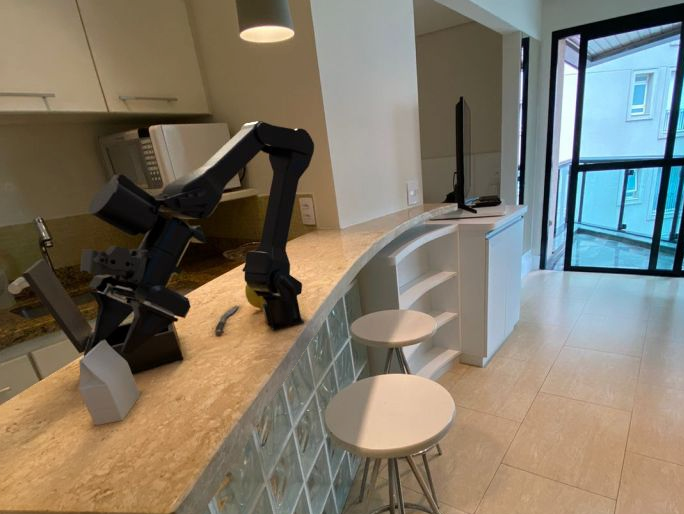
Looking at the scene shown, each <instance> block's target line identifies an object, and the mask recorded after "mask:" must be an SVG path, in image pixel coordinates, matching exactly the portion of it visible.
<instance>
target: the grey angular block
mask: <svg viewBox="0 0 684 514" xmlns="http://www.w3.org/2000/svg"><path fill="white" fill-rule="evenodd" d="M78 363H79V364H78V365H79V378H78V379H79V380H78V388H77V389H78V390H77V391H78V392H79V395H80V396H81V398H82V401H83V403H84V405H85V407H86V409H87V411H88V413H89V415H90V417H91V420H92V422H93V423H94V426H98V425H99V426H100V425H105V424H109V423H114V422H120V421H123V420H124V419H125V417H126V416H127V414H128V413H129V412H130V410H131V409H132V407H133V406H134V405H135V403H136V401H137V400H138V399H139V398H140V396H141V393H140V390H139V388H138V385H137V383H136V380H135V378H134V374H133V375H132V373H131V370H130V368H129V365H128V363H127V361H126V360H125V359H124V358H122V357H121V356H120V355H119V354H118V353H117V352H116V351H115V350H114V349H113V348H112V347H111V346H110V345H109V344H108V343H107V342H106V340H103V341H101V342H100V343H98V344H97V345H96V346H95V347H94V348H93V349H92V350H91V351H90V352H89V353H87V354H86V355H85V356H84V355H83V357H82V358H80V359H79V361H78Z"/></svg>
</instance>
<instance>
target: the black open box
mask: <svg viewBox="0 0 684 514" xmlns="http://www.w3.org/2000/svg"><path fill="white" fill-rule="evenodd" d="M131 323H132V321H131V322H126V323H123V324H122V323H121V324H120V325H119V326H118V327H117V328H116V329H115V330H114V331H113V332H112V333H111V334H110V335H109V336H108V337H107V338H106V339H105V340H106V342H107V343H108V344H109V345H110V346H111V347H112V348H113V349H114V350H115V351H116V352H117V353H118V354H119V355H120V356H121V357H122V358H124V359H125V360H126V361H127V363H128V365H129V368H130V370H131V373H132V375H133V376H134V375H137V374H140V373H143V372H147V371H150V370H153V369H157V368H160V367H164V366H167V365H171V364H173V363H177V362H181V361H184V355H183V350H182V345H181V340H180V337H179V334H178V331H177V328H176V325H175V322H173V323H172V324H170V325H169V326H167V327H166V328H165V329H163V330H162V331H160V332H159V333H158V334H156V335H155V336H154V337H152V338H151V339H150V340H148V341H147V342H146V343H145V344H143V345H142V346H141V347H139V348H138V349H137V350H136V351H134V352H133V353H132V354H130V355H127V354H124V353H122V348H123V345H124V342H125V339H126V336H127V334H128V331H129V328H130V326H131ZM93 336H94V331H91V334H90V337H89V340H88V343H87V346H86V349H85V351H84V352H83V357H84V356H85V355H86V354H87V353H89V352H90V351H91V350H92V349H93V348H94V347H95V346H96V345H97V344H98V343H97V342H94V341H93Z"/></svg>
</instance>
